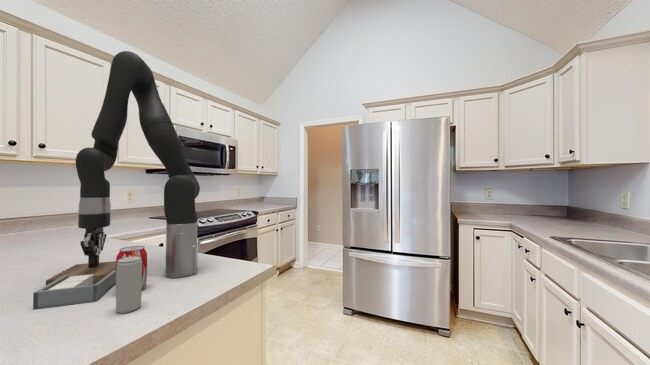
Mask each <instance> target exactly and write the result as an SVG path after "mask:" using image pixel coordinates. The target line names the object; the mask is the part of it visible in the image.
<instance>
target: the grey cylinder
mask: <svg viewBox="0 0 650 365" xmlns="http://www.w3.org/2000/svg"><path fill="white" fill-rule="evenodd" d="M141 287H142V260H141V257H138V256H135V257H126V258H122V259H119V260H118V263H117V279H116V284H115V290H116V291H115V292H116V293H115V311H116V312H117V313H118V314H128V313H131V312H132V313H133V312H134V311H137V310H138V309H139V308H140V307H141V306H142V290H141Z"/></svg>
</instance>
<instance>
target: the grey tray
mask: <svg viewBox="0 0 650 365" xmlns="http://www.w3.org/2000/svg"><path fill="white" fill-rule="evenodd" d="M66 279H68V275H64V276H62V277H61V278H59V279H57V280H55V281H53V282H52V283H50V284H48V285H46V284H45V286H42V287H41V288H40V289H38V290H36V291H34V292H33V299H32V301H33V302H32V303H33V304H32V306H33V307H32V309H33V310H41V309H49V308H57V307H64V306H72V305H79V304H86V303H87V304H88V303H95V302H99V300H100V299H101V298H103V296H105V294H106V293H108V292H109V291H110V290H111V289H112V288H113V287H114V286H116V270H114V271H112V272H111V273H109V274H108V275H107V276H106V277H104V278H103V279H102V280H100V281H99V282H98V283H96V284H93V285H90V286H81V287H71V288H62V289H53V290H48V289H50V288H52V287H54V286H56V285H57V284H59V283H61V282H63V281H64V280H66Z"/></svg>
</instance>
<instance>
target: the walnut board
mask: <svg viewBox="0 0 650 365" xmlns="http://www.w3.org/2000/svg"><path fill="white" fill-rule="evenodd" d="M114 270H116V260H115V261H103V262H100V261H99V266H97V267H96V268H88V263H80V264H79V263H78V264H75V265H73V266H70V267H69V268H66V269H65V270H63V271H61V272H59V273H58V274H56V275H54V276H52V277H49V278H48V279H46V280H45V286H46V285H48V284H50V283H52V282H53V281H55V280H57V279H59V278H61V277H62V276H64V275H68V278H69V277H71V276H80V275H91V274H93V284H96V283H98V282H99V281H100V280H102V279H103V278H104V277H106V276H107V275H108V274H109V273H111V272H112V271H114Z"/></svg>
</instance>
